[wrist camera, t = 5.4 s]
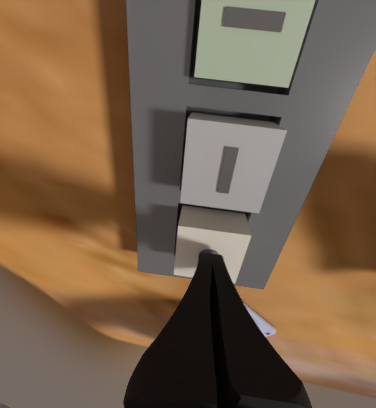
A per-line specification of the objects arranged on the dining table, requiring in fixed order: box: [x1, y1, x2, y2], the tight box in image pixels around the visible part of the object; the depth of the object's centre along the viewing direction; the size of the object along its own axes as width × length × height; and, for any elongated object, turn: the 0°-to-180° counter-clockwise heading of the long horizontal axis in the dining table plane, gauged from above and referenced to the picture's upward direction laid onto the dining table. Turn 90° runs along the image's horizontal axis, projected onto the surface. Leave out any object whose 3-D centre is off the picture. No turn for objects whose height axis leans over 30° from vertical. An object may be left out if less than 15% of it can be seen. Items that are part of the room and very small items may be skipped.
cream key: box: [174, 205, 251, 284], centre depth 14 cm, size 4×4×2 cm
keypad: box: [126, 0, 376, 289], centre depth 13 cm, size 22×11×2 cm, turn 174°
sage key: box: [194, 0, 315, 88], centre depth 9 cm, size 4×4×2 cm
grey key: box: [180, 112, 287, 213], centre depth 11 cm, size 4×4×2 cm
